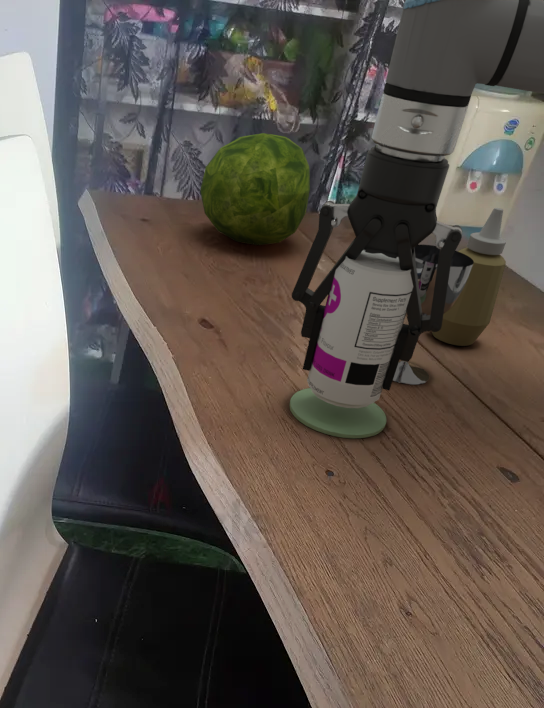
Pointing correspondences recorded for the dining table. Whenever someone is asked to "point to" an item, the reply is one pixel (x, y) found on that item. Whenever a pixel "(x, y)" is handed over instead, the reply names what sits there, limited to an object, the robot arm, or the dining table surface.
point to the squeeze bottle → (477, 286)
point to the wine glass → (426, 280)
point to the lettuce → (257, 189)
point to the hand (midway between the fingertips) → (347, 374)
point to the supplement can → (359, 330)
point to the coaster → (336, 416)
